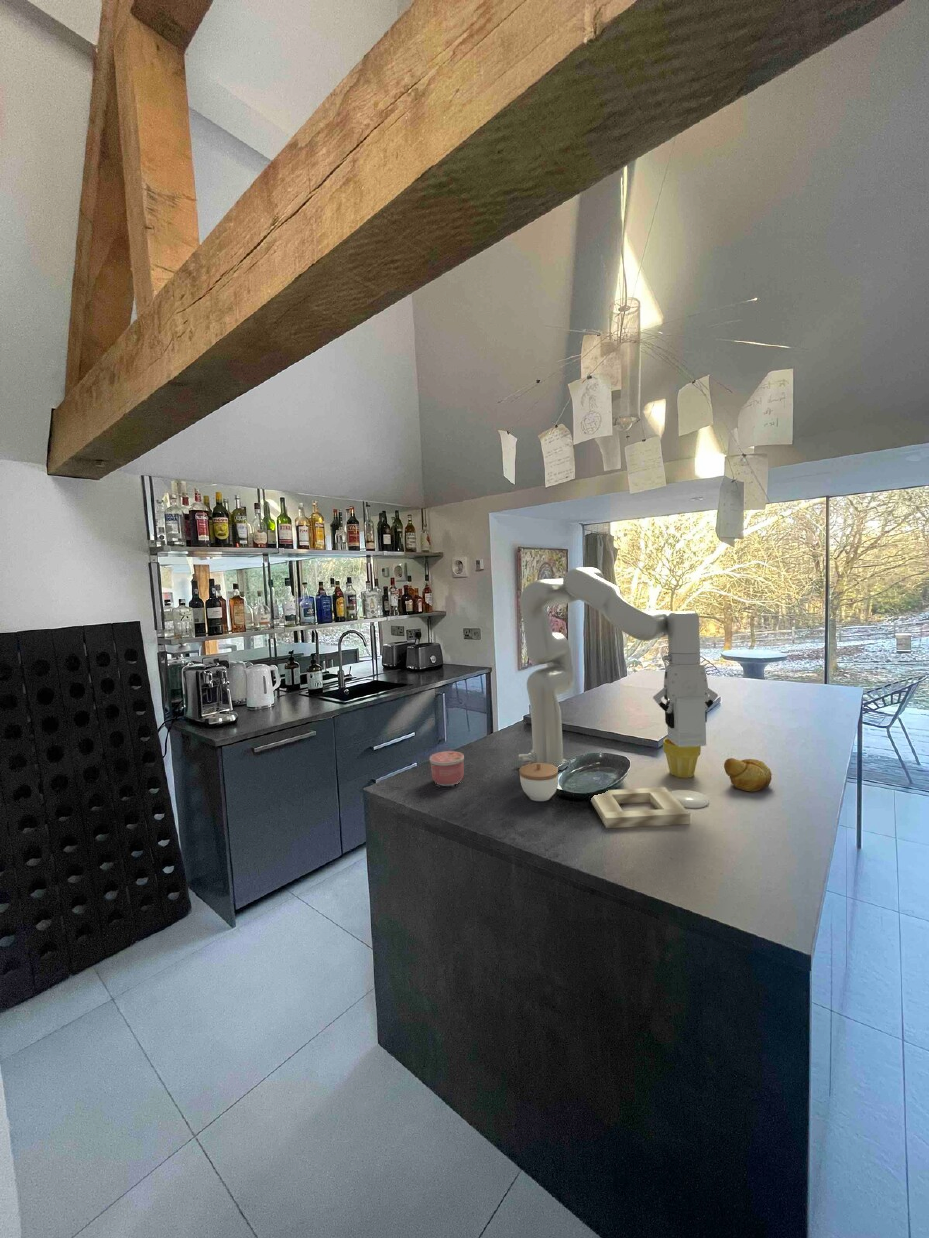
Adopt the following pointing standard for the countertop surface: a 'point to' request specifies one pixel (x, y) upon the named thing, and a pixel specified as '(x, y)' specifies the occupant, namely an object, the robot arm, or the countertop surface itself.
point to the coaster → (690, 798)
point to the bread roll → (748, 774)
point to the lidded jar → (539, 780)
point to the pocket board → (659, 797)
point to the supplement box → (688, 722)
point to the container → (447, 767)
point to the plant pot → (681, 758)
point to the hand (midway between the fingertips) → (686, 725)
